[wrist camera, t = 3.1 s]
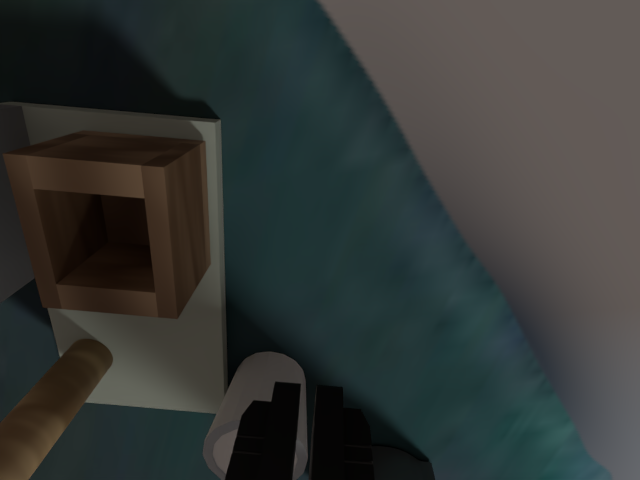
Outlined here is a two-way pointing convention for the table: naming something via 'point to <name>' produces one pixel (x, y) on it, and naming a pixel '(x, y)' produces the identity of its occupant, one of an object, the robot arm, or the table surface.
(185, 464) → the table surface
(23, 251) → the wall
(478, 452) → the table surface
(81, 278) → the wooden open box
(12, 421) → the dowel
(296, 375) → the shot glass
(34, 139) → the board
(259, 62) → the table surface
